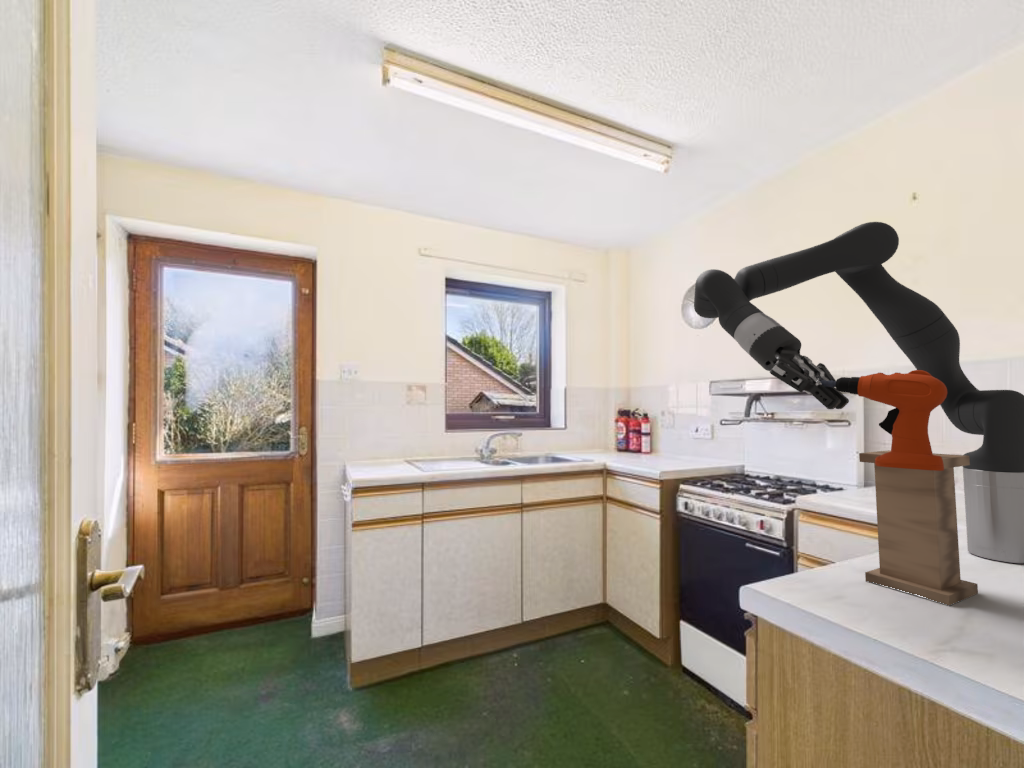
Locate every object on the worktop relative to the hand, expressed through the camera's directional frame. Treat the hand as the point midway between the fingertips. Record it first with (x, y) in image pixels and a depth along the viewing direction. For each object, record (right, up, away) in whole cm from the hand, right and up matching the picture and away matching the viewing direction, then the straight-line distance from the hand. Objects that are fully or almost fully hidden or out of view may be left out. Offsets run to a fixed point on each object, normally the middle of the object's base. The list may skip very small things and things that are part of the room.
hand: (839, 405), depth 73 cm
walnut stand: (+14, -30, +1) cm, 34 cm away
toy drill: (+2, -9, -4) cm, 10 cm away
